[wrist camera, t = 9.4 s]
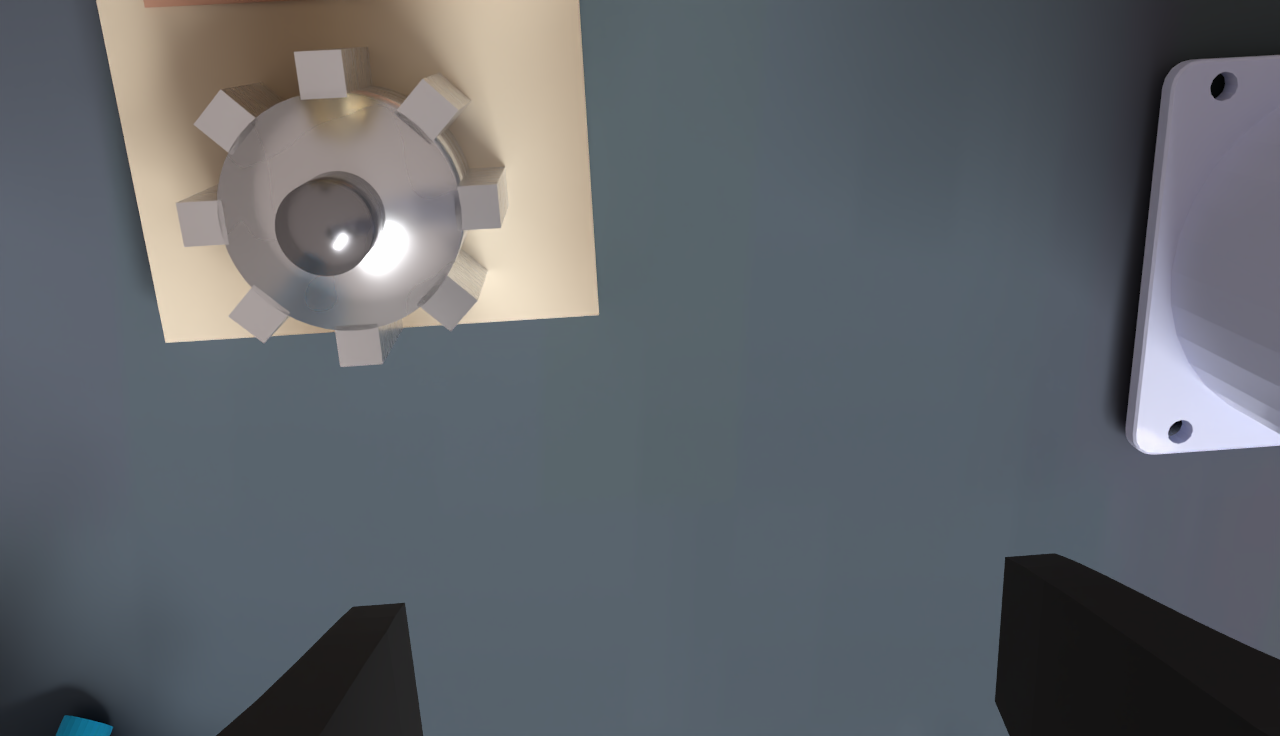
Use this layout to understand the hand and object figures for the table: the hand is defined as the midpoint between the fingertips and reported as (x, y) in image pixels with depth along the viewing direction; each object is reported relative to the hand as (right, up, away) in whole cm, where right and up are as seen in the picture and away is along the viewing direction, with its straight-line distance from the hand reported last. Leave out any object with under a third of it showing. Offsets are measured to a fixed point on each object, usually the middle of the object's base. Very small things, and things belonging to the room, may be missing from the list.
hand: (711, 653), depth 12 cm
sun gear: (-6, +7, +6) cm, 11 cm away
